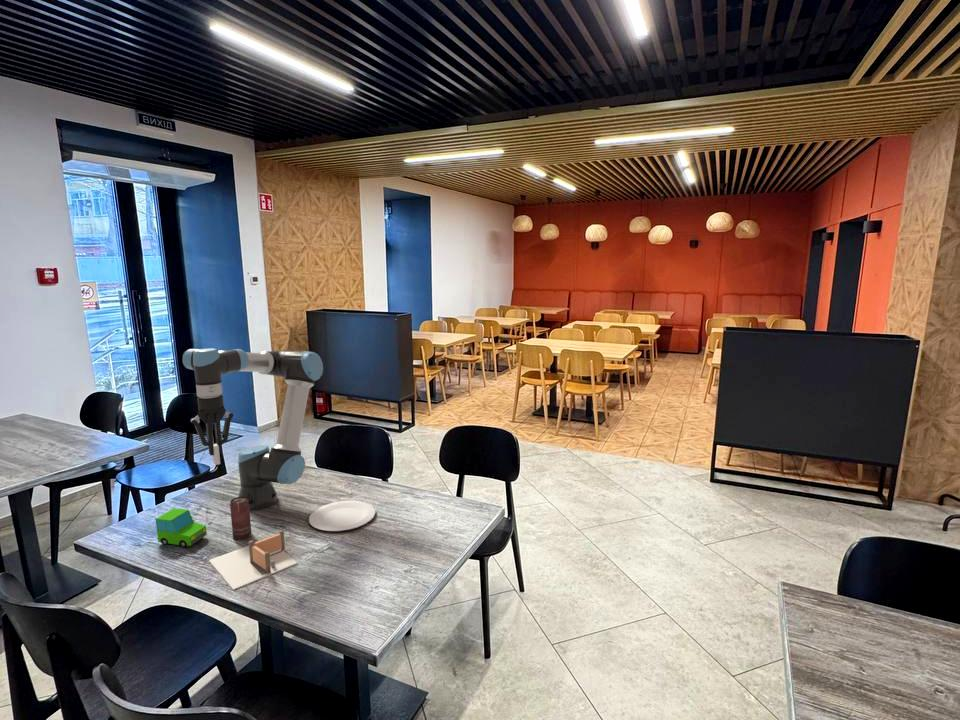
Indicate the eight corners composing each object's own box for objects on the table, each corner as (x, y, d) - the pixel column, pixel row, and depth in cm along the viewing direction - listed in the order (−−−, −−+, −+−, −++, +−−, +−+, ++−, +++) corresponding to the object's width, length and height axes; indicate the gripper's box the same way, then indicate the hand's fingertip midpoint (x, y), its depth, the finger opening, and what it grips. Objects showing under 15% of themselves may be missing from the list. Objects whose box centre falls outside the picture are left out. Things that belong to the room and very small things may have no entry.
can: (233, 542, 180) (230, 505, 178) (232, 534, 186) (229, 498, 184) (252, 538, 183) (249, 501, 181) (250, 530, 189) (247, 494, 186)
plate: (294, 527, 192) (294, 523, 191) (336, 499, 215) (336, 496, 214) (350, 540, 182) (349, 535, 182) (387, 510, 205) (387, 506, 205)
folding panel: (252, 563, 166) (250, 544, 165) (256, 561, 168) (255, 542, 166) (267, 573, 160) (266, 554, 159) (271, 571, 162) (270, 552, 160)
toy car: (189, 551, 175) (186, 524, 173) (156, 546, 178) (153, 520, 176) (210, 536, 185) (207, 510, 183) (179, 532, 188) (176, 506, 186)
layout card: (269, 539, 183) (268, 532, 182) (297, 563, 167) (296, 557, 167) (208, 561, 169) (208, 554, 168) (233, 590, 153) (232, 583, 153)
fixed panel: (283, 548, 176) (282, 529, 175) (285, 549, 175) (284, 530, 174) (249, 561, 168) (247, 541, 167) (251, 563, 167) (249, 543, 166)
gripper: (190, 401, 162) (198, 471, 166) (234, 394, 170) (240, 461, 174) (185, 396, 168) (192, 465, 172) (228, 390, 176) (234, 455, 180)
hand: (216, 463), depth 173 cm, fingers closed
